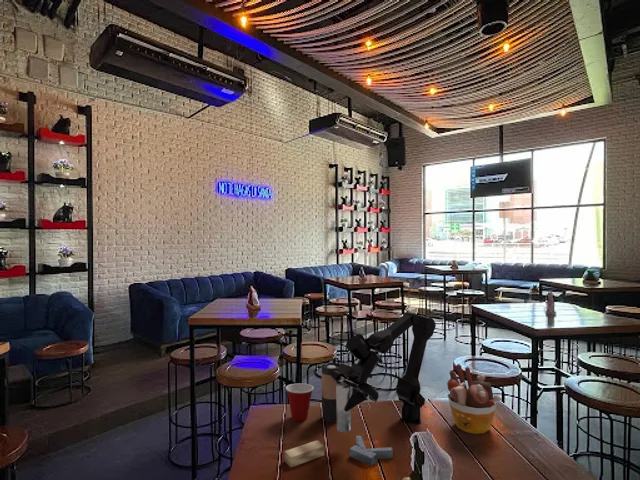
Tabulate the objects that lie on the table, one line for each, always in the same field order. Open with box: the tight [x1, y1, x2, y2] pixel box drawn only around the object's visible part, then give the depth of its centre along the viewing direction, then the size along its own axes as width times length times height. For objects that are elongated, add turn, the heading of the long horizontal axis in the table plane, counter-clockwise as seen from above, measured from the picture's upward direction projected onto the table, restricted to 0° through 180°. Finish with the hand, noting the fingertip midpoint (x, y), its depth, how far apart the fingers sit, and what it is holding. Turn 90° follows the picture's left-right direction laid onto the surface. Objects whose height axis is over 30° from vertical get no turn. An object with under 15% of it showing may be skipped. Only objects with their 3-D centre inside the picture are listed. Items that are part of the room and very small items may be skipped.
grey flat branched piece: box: [349, 435, 394, 467], centre depth 118 cm, size 9×14×2 cm, turn 51°
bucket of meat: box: [447, 363, 502, 435], centre depth 136 cm, size 20×16×20 cm
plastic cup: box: [285, 383, 314, 423], centre depth 143 cm, size 11×11×12 cm
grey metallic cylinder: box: [336, 383, 352, 433], centre depth 122 cm, size 5×5×14 cm
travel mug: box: [321, 362, 340, 423], centre depth 143 cm, size 8×8×20 cm
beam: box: [283, 439, 325, 468], centre depth 116 cm, size 12×4×3 cm, turn 123°
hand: (340, 408), depth 121 cm, fingers closed on grey metallic cylinder, 5 cm apart
